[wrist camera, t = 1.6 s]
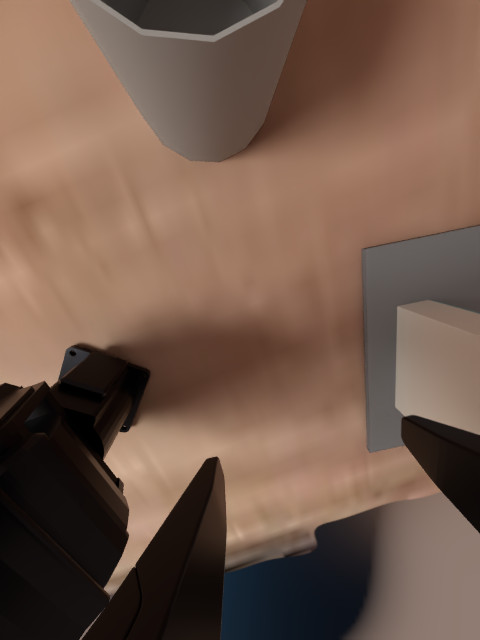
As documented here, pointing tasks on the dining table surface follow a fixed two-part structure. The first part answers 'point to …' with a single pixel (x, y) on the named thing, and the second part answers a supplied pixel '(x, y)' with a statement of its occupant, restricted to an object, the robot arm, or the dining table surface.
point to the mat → (405, 288)
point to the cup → (197, 65)
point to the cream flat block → (439, 363)
